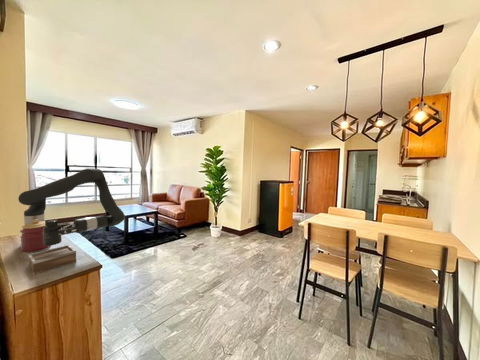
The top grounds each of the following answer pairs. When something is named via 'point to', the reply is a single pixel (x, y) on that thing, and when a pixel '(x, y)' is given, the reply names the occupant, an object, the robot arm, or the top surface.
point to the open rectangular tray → (51, 258)
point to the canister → (33, 236)
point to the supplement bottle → (52, 239)
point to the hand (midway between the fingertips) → (46, 232)
